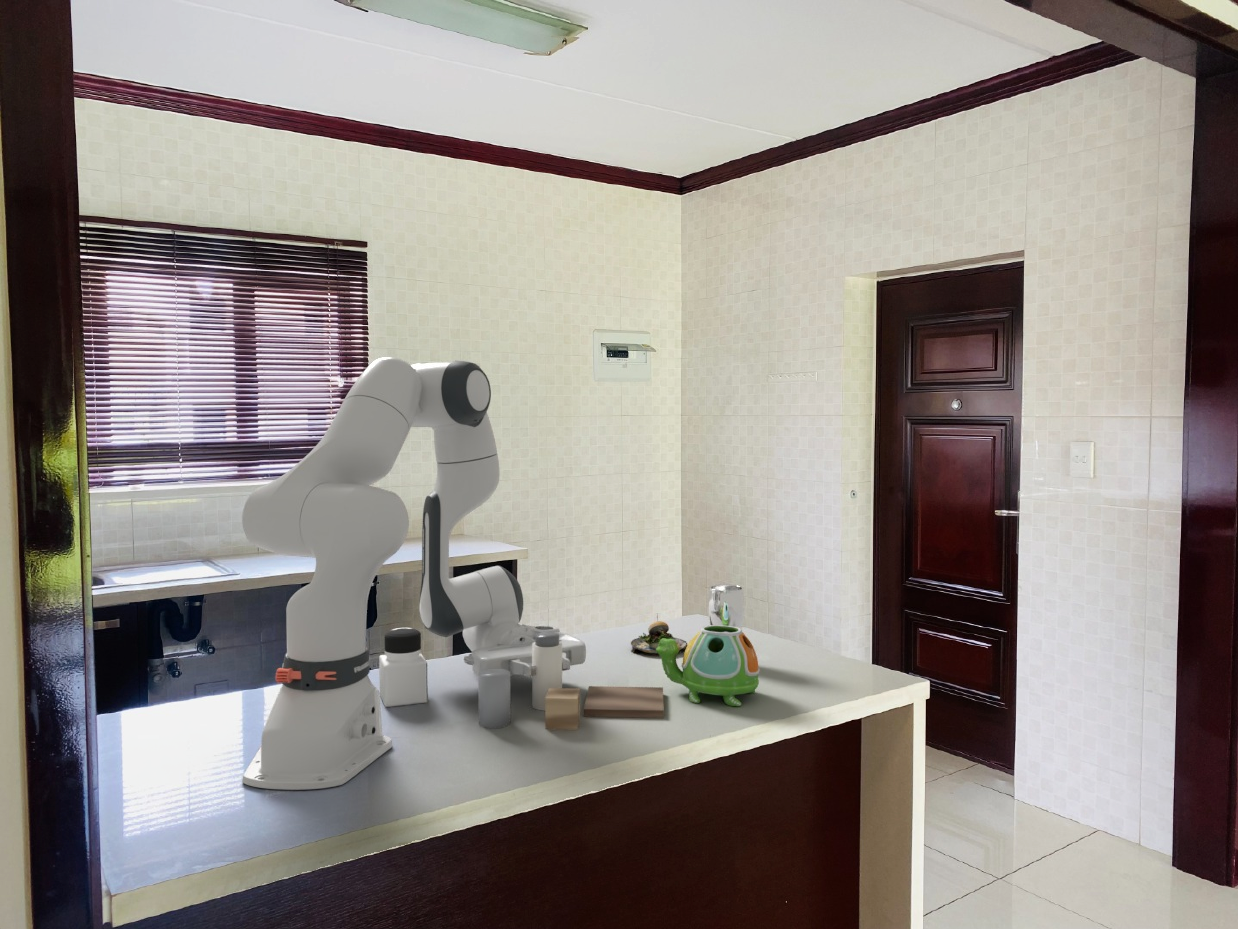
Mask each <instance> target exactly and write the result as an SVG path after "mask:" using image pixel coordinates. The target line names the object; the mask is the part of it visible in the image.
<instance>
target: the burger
mask: <svg viewBox="0 0 1238 929" xmlns="http://www.w3.org/2000/svg"><path fill="white" fill-rule="evenodd" d="M656 619H657V621H654V622H653V623H651V624H650V625H649V626H648V628H647V629H648V630H647V632H648V634H646V633H644V632H642V634H643V635H638V637H637V638H634V639H632V640H631V641H630V644H631V645H630V646H631V650H630V652H631V653H633V654H635V650H638V651H641V652H644V653H646V654H647V653H648V654H658V653H657V651H656V648H658V645H659V642H660V640H661V639H662V638H665V639H674V640H675V641H676V643H677V645H678V648H679V651H682V650H683V649H684V650H686V648H687V645H688V642H687V641H686V640H684V639H681V638H677V637H674V636H673V634H672V633H670V632H669V629H670V627H669V625H668V624H667V623H666V622H665V621H662V620H661V621H658V620H659V618H658V614H657V616H656Z"/></svg>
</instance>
